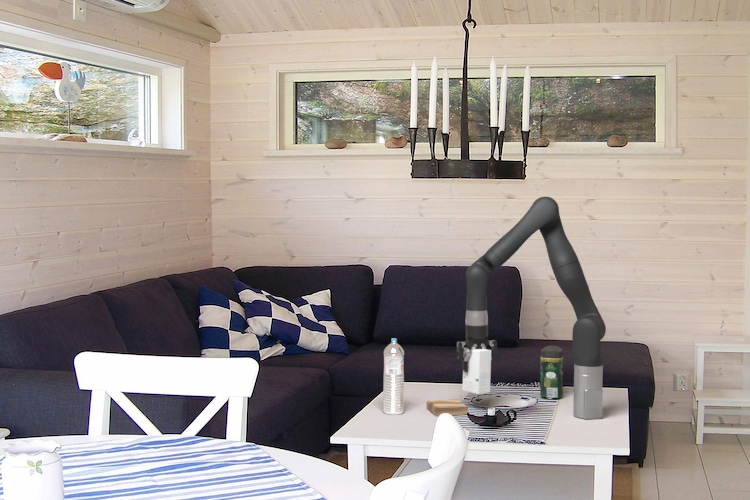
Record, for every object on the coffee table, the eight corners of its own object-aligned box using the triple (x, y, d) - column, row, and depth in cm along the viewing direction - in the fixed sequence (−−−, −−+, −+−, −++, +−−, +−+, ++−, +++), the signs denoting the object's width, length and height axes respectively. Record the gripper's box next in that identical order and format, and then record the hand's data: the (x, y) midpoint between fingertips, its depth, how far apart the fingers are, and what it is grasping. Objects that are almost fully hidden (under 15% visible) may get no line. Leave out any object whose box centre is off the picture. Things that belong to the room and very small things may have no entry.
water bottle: (390, 409, 318) (391, 336, 317) (407, 412, 314) (408, 338, 313) (379, 413, 313) (379, 338, 311) (396, 416, 309) (396, 340, 307)
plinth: (467, 414, 311) (467, 405, 311) (435, 416, 309) (435, 407, 309) (457, 407, 322) (457, 398, 322) (426, 408, 320) (426, 400, 319)
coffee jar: (542, 393, 345) (542, 343, 344) (563, 395, 343) (564, 344, 342) (538, 399, 336) (539, 347, 335) (560, 400, 334) (561, 348, 333)
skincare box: (462, 391, 320) (461, 347, 320) (474, 388, 324) (474, 346, 323) (479, 394, 314) (478, 350, 313) (492, 392, 317) (491, 348, 317)
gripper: (460, 325, 313) (460, 374, 313) (500, 323, 316) (500, 372, 317) (453, 322, 320) (453, 370, 321) (492, 321, 323) (493, 368, 324)
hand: (477, 371), depth 319 cm, fingers closed on skincare box, 7 cm apart
